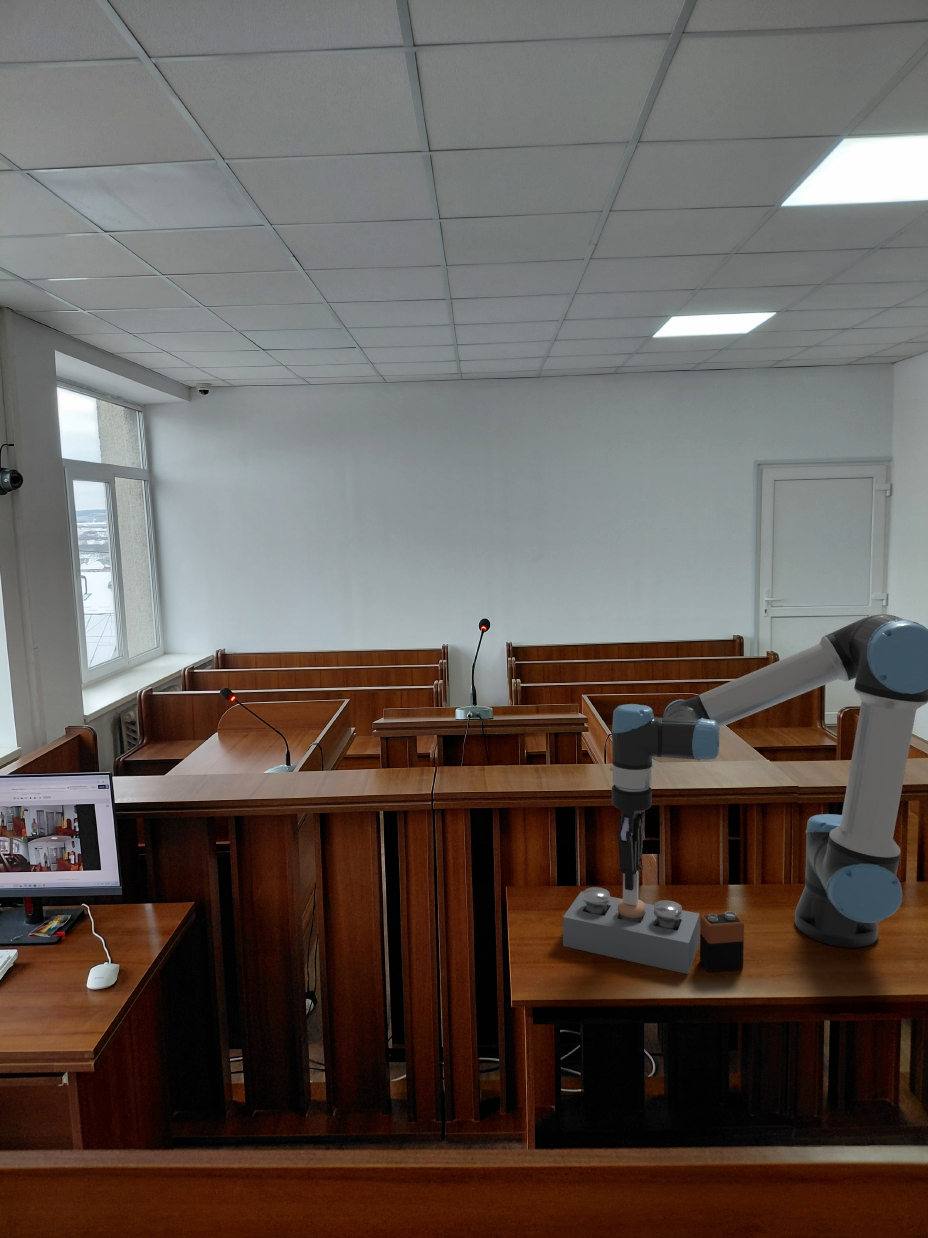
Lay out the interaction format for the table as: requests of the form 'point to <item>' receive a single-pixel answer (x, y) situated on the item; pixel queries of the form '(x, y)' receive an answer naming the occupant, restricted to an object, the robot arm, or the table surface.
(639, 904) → the plunger mid
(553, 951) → the table surface
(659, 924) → the plunger
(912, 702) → the robot arm
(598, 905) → the plunger
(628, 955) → the console
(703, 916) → the battery
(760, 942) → the table surface
